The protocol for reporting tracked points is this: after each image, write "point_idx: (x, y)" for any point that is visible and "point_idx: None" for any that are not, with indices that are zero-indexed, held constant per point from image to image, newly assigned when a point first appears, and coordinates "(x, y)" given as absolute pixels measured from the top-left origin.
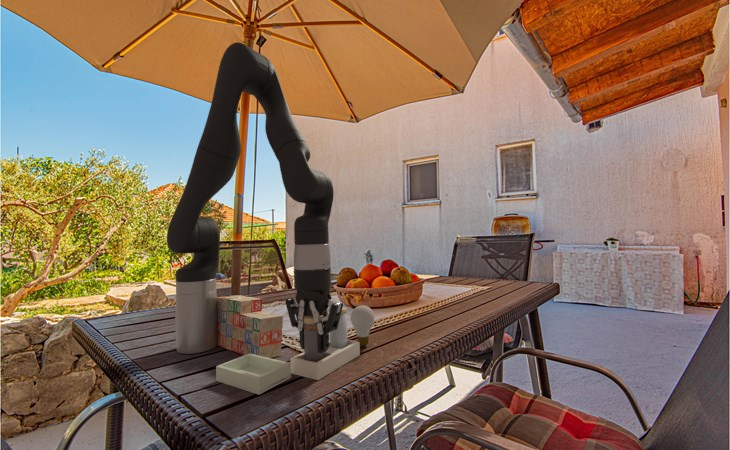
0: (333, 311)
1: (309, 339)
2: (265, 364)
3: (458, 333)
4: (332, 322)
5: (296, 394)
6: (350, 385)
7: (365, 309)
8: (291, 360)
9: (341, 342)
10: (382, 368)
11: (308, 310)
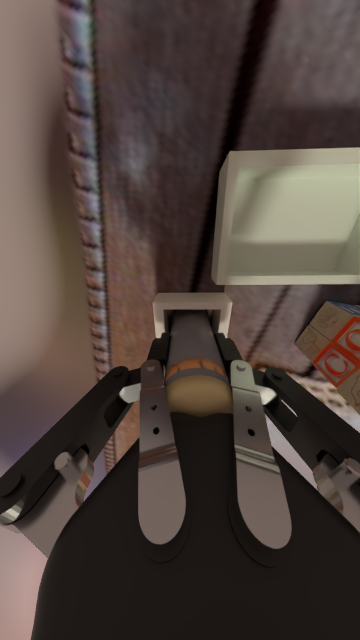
0: (35, 452)
1: (188, 341)
2: (287, 273)
3: (108, 463)
4: (82, 398)
5: (149, 223)
6: (98, 303)
7: None
8: (228, 301)
9: None
10: (106, 367)
11: (212, 443)
